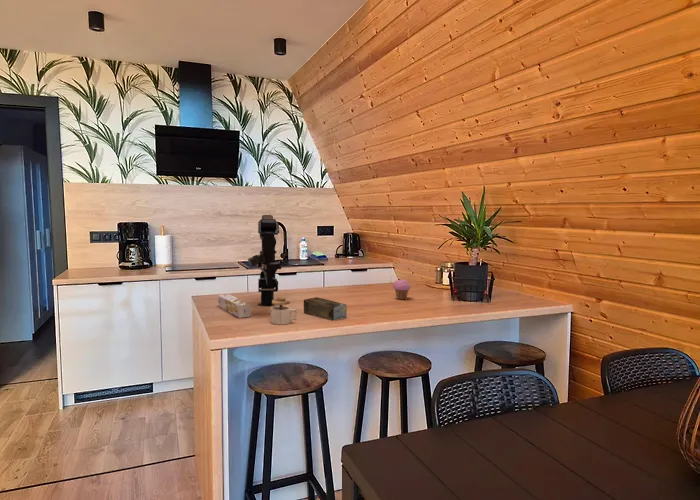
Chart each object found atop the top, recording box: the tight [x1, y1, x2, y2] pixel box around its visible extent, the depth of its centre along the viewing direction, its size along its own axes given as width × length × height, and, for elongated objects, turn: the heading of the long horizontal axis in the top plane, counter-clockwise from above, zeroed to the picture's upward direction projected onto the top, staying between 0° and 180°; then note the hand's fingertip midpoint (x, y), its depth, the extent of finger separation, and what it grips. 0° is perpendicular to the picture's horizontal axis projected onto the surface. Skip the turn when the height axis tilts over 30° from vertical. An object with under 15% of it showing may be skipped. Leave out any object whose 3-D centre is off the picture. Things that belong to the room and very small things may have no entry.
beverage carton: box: [303, 296, 348, 321], centre depth 191 cm, size 8×19×7 cm, turn 46°
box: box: [217, 293, 252, 319], centre depth 196 cm, size 27×5×6 cm, turn 33°
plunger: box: [272, 297, 291, 310], centre depth 178 cm, size 7×7×7 cm
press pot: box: [270, 305, 297, 326], centre depth 179 cm, size 10×8×6 cm
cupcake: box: [392, 278, 411, 300], centre depth 229 cm, size 9×9×10 cm
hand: (268, 285), depth 194 cm, fingers closed
